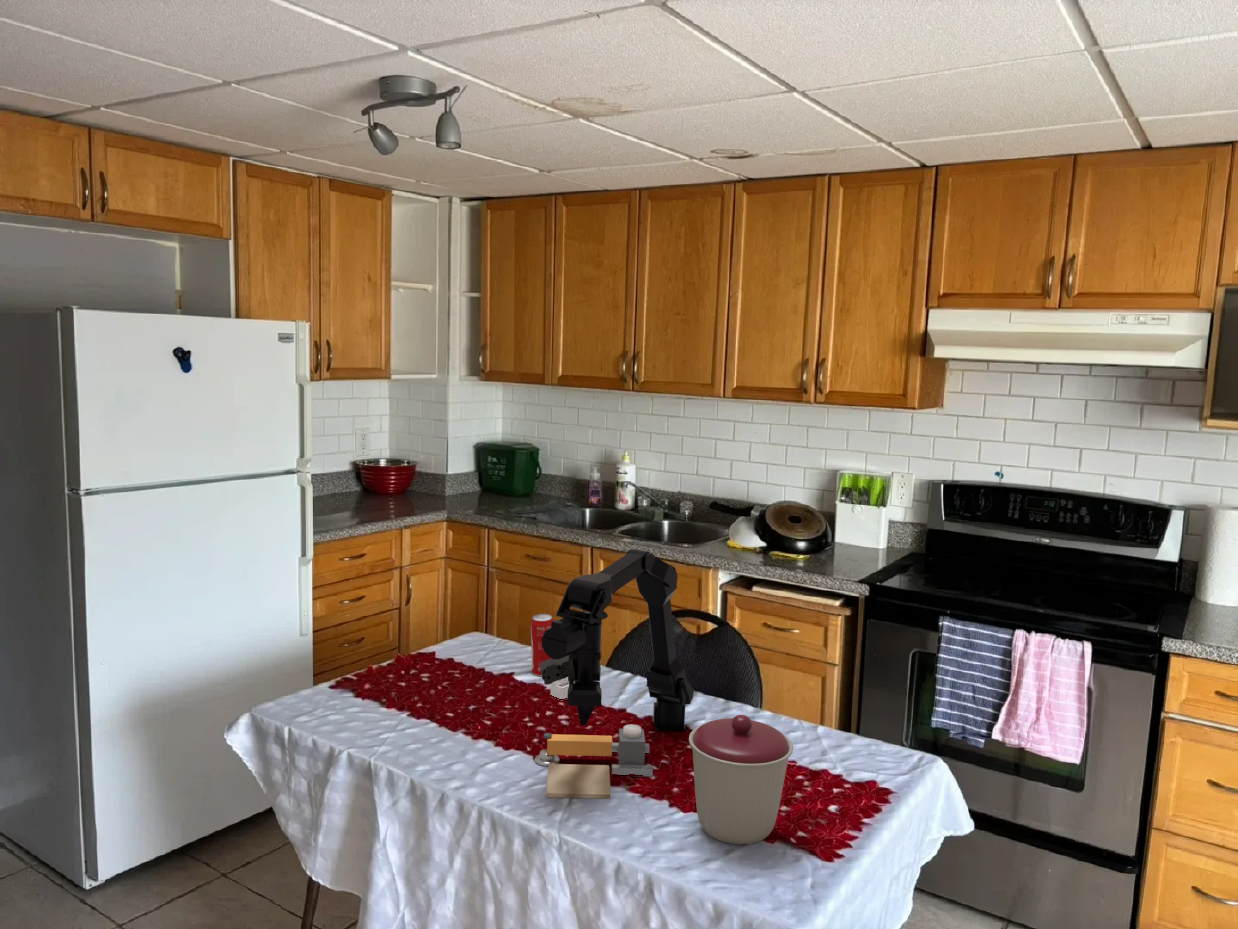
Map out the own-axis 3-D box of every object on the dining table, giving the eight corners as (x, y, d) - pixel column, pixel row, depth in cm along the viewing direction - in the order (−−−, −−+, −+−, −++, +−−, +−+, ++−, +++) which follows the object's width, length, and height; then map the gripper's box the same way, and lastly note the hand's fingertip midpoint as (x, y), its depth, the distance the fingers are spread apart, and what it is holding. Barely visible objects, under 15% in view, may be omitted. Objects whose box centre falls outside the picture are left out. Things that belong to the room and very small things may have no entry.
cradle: (648, 750, 196) (649, 742, 196) (652, 776, 185) (652, 767, 185) (536, 748, 195) (536, 739, 195) (532, 773, 184) (533, 765, 184)
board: (609, 769, 187) (609, 765, 187) (610, 798, 175) (610, 794, 175) (548, 767, 187) (549, 764, 187) (546, 797, 175) (546, 793, 175)
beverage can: (558, 671, 240) (560, 614, 238) (545, 679, 234) (547, 621, 232) (538, 667, 242) (539, 611, 240) (525, 675, 236) (526, 617, 234)
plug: (642, 757, 193) (643, 722, 192) (643, 770, 188) (645, 734, 186) (618, 756, 193) (619, 721, 192) (619, 769, 187) (620, 734, 186)
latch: (611, 749, 191) (612, 733, 191) (611, 756, 188) (612, 739, 188) (543, 748, 191) (544, 731, 190) (542, 754, 188) (543, 737, 188)
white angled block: (538, 691, 220) (551, 656, 222) (561, 701, 227) (574, 667, 230) (550, 695, 217) (563, 659, 220) (573, 705, 225) (586, 670, 227)
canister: (669, 840, 162) (675, 724, 159) (703, 795, 178) (709, 689, 175) (772, 868, 154) (780, 747, 152) (797, 818, 171) (805, 708, 168)
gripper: (545, 628, 186) (543, 703, 188) (540, 661, 168) (538, 743, 170) (601, 630, 187) (598, 705, 189) (603, 662, 168) (599, 745, 170)
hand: (583, 723), depth 179 cm, fingers closed
